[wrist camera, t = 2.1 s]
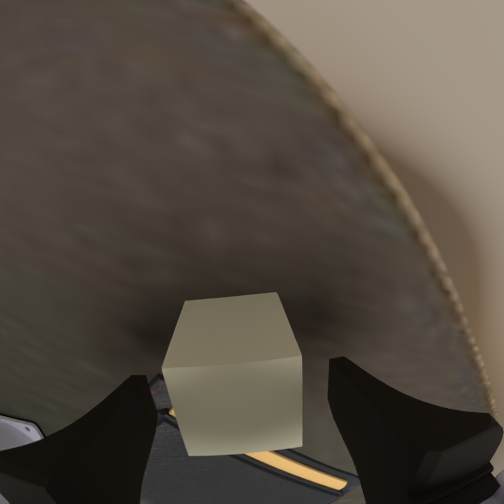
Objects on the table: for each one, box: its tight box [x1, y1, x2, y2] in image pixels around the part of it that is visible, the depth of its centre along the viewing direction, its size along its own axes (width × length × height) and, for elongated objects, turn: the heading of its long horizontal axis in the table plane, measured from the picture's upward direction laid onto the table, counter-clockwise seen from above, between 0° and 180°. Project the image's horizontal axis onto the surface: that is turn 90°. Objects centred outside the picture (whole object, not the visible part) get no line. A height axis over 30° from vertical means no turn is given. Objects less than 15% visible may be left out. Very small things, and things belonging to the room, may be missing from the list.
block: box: [162, 292, 302, 456], centre depth 13 cm, size 4×4×6 cm
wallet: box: [140, 374, 361, 504], centre depth 19 cm, size 20×2×15 cm
